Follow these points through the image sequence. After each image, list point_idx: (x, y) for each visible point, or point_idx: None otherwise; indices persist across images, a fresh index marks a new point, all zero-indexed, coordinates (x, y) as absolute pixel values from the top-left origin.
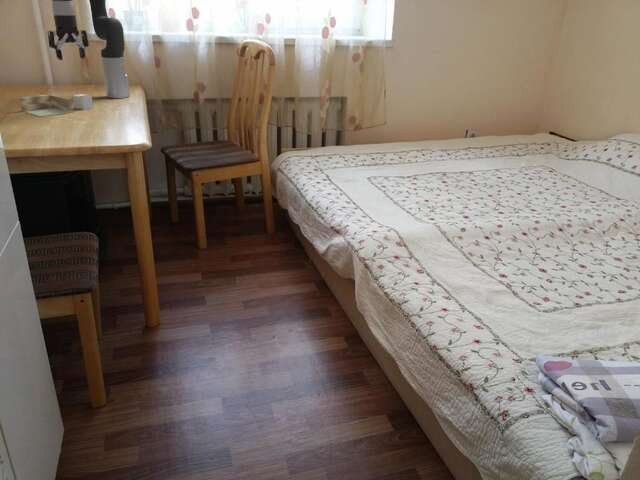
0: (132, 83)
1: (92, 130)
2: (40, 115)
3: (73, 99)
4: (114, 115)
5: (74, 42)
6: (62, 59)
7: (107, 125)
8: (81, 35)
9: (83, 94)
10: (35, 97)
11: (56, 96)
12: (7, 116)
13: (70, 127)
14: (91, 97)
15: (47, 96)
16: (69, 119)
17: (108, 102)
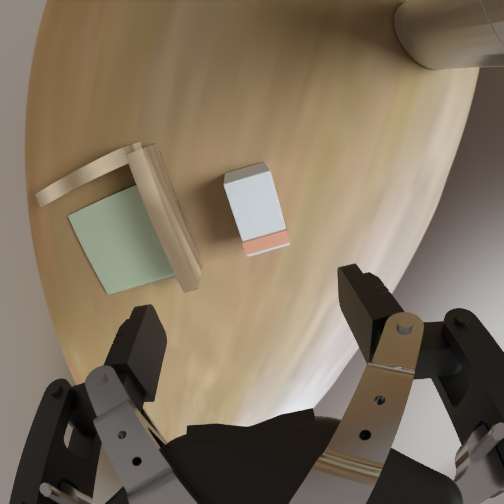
0: None
1: (212, 422)
2: (108, 288)
3: (224, 179)
4: (300, 337)
5: (364, 372)
6: (166, 338)
7: (247, 406)
8: (460, 456)
9: (272, 186)
10: (78, 186)
11: (150, 208)
12: (36, 243)
13: (177, 398)
14: (287, 243)
15: (120, 166)
16: (180, 342)
17: (371, 117)
